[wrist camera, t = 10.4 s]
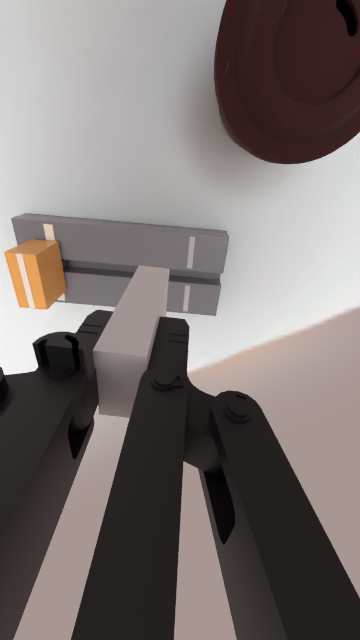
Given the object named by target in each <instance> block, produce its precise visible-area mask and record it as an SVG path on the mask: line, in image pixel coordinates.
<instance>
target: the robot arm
mask: <svg viewBox="0 0 360 640" xmlns="http://www.w3.org/2000/svg"><path fill="white" fill-rule="evenodd" d="M169 270H170V269H167V268H159V267H151V266H142V265H139V266H138V268H137V270H136V272H135V274H134V275H133V277H132V279H131V281H130V283H129V285H128V286H127V288H126V290H125V292H124V294H123V296H122V297H121V299H120V301H119V303H118V305H117V307H116V308H115V310H114V312H112V311H103V310H96V311H95V312H93V313H91V314H90V315H88V316H87V317H86V319H85V320H84V322H83V323H82V325H81V326H80V327H79V329H78V331H77V332H76V333H71V332H55V333H50V334H47V335H45V336H43V337H40V338H39V339H37V340H36V341H35V342H34V343H32V344H33V347H34V351H35V355H36V359H37V363H38V368H37V369H36V371H34V372H28V373H20V374H12V375H4V373H3V370H2V368H1V367H0V640H13V639H14V636H15V633H16V631H17V628H18V625H19V623H20V620H21V618H22V615H23V612H24V610H25V607H26V604H27V602H28V599H29V596H30V594H31V591H32V588H33V586H34V583H35V581H36V578H37V576H38V573H39V570H40V568H41V565H42V562H43V560H44V557H45V555H46V552H47V550H48V547H49V544H50V542H51V539H52V536H53V534H54V531H55V528H56V526H57V523H58V521H59V518H60V515H61V513H62V510H63V508H64V505H65V502H66V499H67V497H68V494H69V492H70V489H71V486H72V484H73V481H74V479H75V476H76V474H77V471H78V468H79V466H80V463H81V460H82V458H83V455H84V453H85V450H86V447H87V445H88V442H89V439H90V437H91V434H92V431H93V427H94V418H93V416H94V413H95V411H96V408H97V406H98V407H99V414H102V415H110V416H120V417H127V418H130V420H129V423H128V427H127V431H126V435H125V438H124V442H123V446H122V450H121V453H120V457H119V461H118V465H117V469H116V472H115V476H114V480H113V484H112V488H111V491H110V495H109V499H108V503H107V506H106V510H105V514H104V517H103V521H102V525H101V529H100V532H99V536H98V540H97V544H96V547H95V551H94V555H93V559H92V563H91V567H90V570H89V574H88V578H87V581H86V585H85V589H84V593H83V596H82V601H81V604H80V608H79V612H78V615H77V619H76V623H75V626H74V630H73V634H72V638H71V640H174V625H175V624H174V623H175V605H176V587H177V586H176V585H177V568H178V551H179V532H180V512H181V495H182V476H183V461H185V462H187V463H189V464H191V465H193V466H195V467H197V468H198V470H199V474H200V479H201V483H202V488H203V492H204V496H205V501H206V505H207V510H208V514H209V519H210V523H211V527H212V532H213V536H214V540H215V545H216V549H217V554H218V558H219V563H220V567H221V571H222V576H223V580H224V585H225V589H226V593H227V598H228V602H229V607H230V611H231V615H232V620H233V624H234V629H235V633H236V638H237V640H360V598H359V596H358V594H357V592H356V590H355V589H354V586H353V584H352V583H351V581H350V579H349V577H348V575H347V573H346V571H345V569H344V567H343V565H342V563H341V562H340V559H339V558H338V556H337V554H336V552H335V550H334V548H333V546H332V544H331V542H330V540H329V538H328V536H327V534H326V532H325V531H324V529H323V527H322V525H321V523H320V521H319V519H318V517H317V515H316V513H315V511H314V510H313V508H312V506H311V504H310V502H309V500H308V498H307V496H306V494H305V492H304V490H303V488H302V486H301V484H300V482H299V480H298V479H297V477H296V475H295V473H294V471H293V469H292V468H291V465H290V463H289V461H288V459H287V457H286V456H285V453H284V452H283V450H282V448H281V446H280V444H279V442H278V440H277V438H276V436H275V434H274V432H273V430H272V428H271V427H270V425H269V423H268V421H267V419H266V417H265V415H264V413H263V411H262V409H261V408H260V406H259V405H258V404H257V402H256V401H255V400H253V399H252V398H251V397H249V396H248V395H246V394H243V393H241V392H238V391H225V392H221V393H220V394H219V395H217V396H216V397H214V396H212V395H209V394H206V393H204V392H202V391H201V390H199V389H197V388H196V387H195V386H193V384H192V383H191V382H190V381H189V378H188V376H187V359H188V341H189V326H188V324H187V323H186V321H185V319H178V318H169V317H165V316H166V305H167V293H168V282H169Z"/></svg>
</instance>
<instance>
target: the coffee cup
mask: <svg viewBox="0 0 360 640" xmlns="http://www.w3.org/2000/svg"><path fill="white" fill-rule="evenodd" d="M214 81H215V90H216V96H217V101H218V105H219V112H220V116H221V120H222V123H223V126H224V128H225V130H226V132H227V134H228V135H229V136H230V138H231V139H232V140H233V141H234V142H235V143H237V144H238V145H239V146H241V147H242V148H244V149H245V150H246V151H248V152H249V153H251V154H252V155H253V156H255V157H257V158H259V159H262V160H264V161H267V162H271V163H278V164H299V163H305V162H309V161H313V160H316V159H319V158H321V157H324V156H326V155H328V154H330V153H332V152H334V151H335V150H337V149H338V148H340V147H341V146H343V145H345V144H346V143H347V142H348V141H350V140H351V139H352V138H354V137H355V136H356V135H357V134H358V133H359V132H360V0H227V1H226V4H225V7H224V10H223V14H222V17H221V21H220V26H219V31H218V37H217V42H216V49H215V59H214Z"/></svg>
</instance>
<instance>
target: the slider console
mask: <svg viewBox="0 0 360 640" xmlns="http://www.w3.org/2000/svg"><path fill="white" fill-rule="evenodd" d="M11 219H12V223H13V227H14V231H15V236H16V240H17V244H18V245H20V244H23V243H25V242H27V241H29V240H31V239H36V240H48V241H59V247H60V253H61V259H65V260H67V263H68V265H66V266H65V267H64V268H63V272H64V278H65V284H66V291H65V292H64V293H63V294H62V295H61V296H60V297H59V298H58V299H57V300H56V301H55V302H66V303H77V304H89V305H100V306H111V307H117V305H118V303H119V301H120V299H121V297H122V296H123V294H124V292H125V290H126V288H127V286H128V285H129V283H130V281H131V279H132V277H133V275H134V274H135V272H136V270H137V268H138V266H139V265H142V266H151V267H159V268H167V269H170V270H169V282H168V293H167V305H166V311H168V312H179V313H191V314H202V315H213V316H216V311H217V305H218V300H219V294H220V288H221V284H220V280H219V279H220V273H223V270H224V264H225V259H226V253H227V247H228V241H229V236H228V234H227V232H226V231H218V230H207V229H196V228H184V227H173V226H162V225H150V224H139V223H128V222H117V221H105V220H94V219H83V218H71V217H60V216H49V215H37V214H23V215H20V216H16V217H13V218H11Z"/></svg>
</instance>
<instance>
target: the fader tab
mask: <svg viewBox="0 0 360 640" xmlns="http://www.w3.org/2000/svg"><path fill="white" fill-rule="evenodd" d="M4 253H5V257H6V261H7V264H8V268H9V271H10V275H11V278H12V282H13V286H14V289H15V293H16V296H17V300H18V304H19V307H24V308H30V309H48V308H49V307H50V306H51V305H52V304H53V303H54V302H55V301H56V300H57V299H58V298H59V297H60V296H61V295H62V294H63V293H64V292H65V291H66V284H65V278H64V272H63V268H64V267H65V266H66V265H68V263H67V260H65V259H61V253H60V247H59V241H48V240H36V239H31V240H29V241H27V242H25V243H23V244H20V245H18V246H16V247H14V248H12V249H10V250H8V251H6V252H4Z"/></svg>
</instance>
